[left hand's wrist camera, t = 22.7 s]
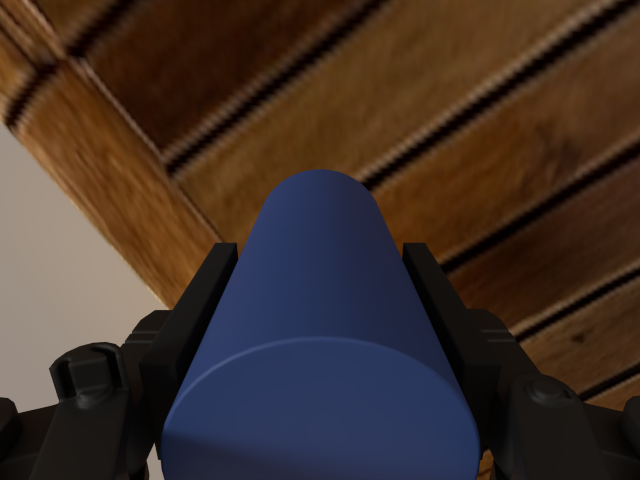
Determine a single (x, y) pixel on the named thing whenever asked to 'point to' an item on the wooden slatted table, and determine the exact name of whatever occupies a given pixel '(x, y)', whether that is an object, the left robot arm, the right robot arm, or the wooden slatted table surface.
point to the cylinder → (320, 357)
